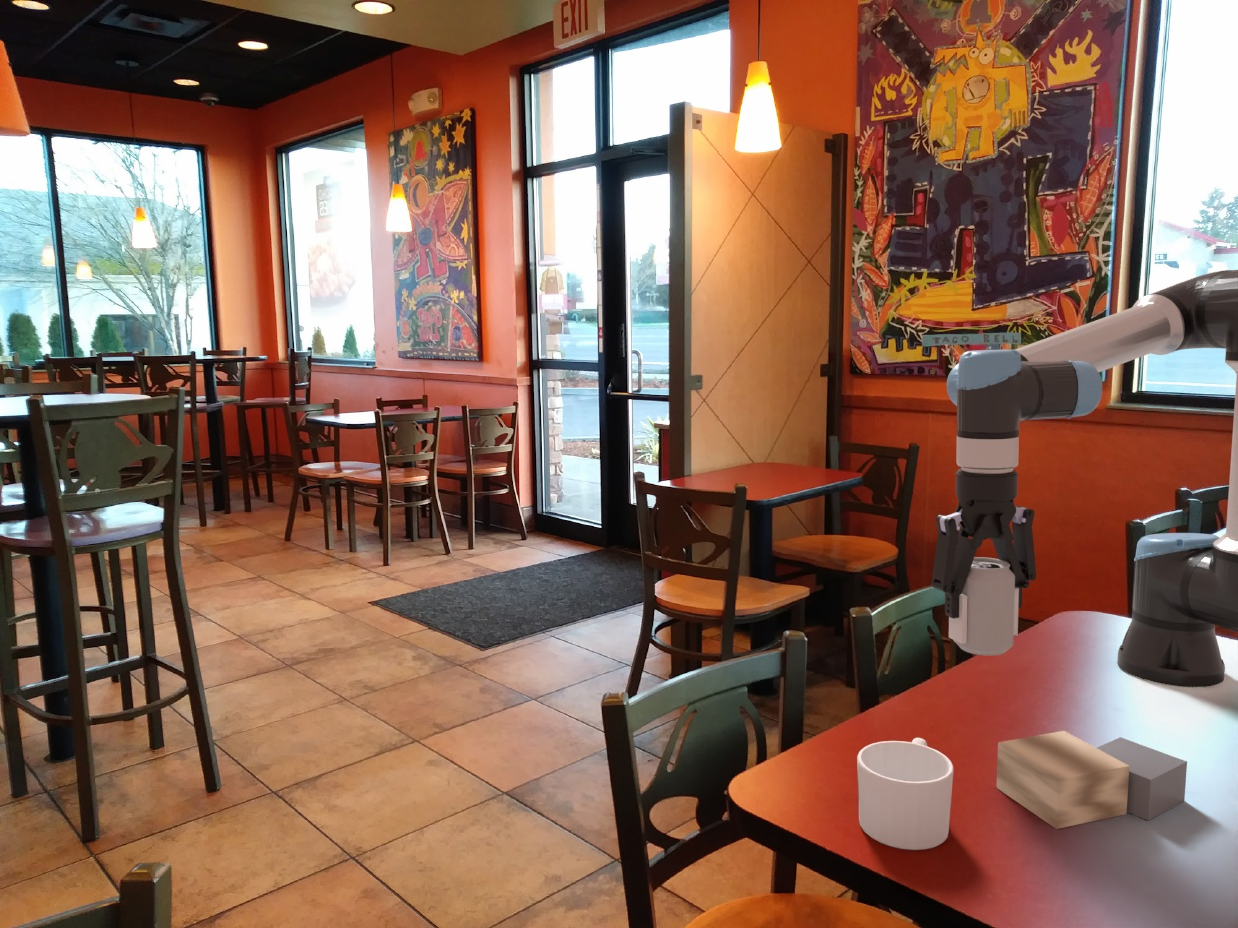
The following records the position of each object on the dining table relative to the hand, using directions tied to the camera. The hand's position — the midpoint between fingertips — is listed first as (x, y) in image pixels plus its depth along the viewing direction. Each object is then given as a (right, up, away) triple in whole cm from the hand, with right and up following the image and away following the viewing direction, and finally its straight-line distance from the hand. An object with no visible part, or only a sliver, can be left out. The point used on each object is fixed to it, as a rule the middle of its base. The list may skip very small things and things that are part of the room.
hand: (983, 635), depth 120 cm
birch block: (+4, -18, -12) cm, 22 cm away
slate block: (+14, -17, -11) cm, 25 cm away
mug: (-15, -19, -16) cm, 29 cm away
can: (0, -2, 0) cm, 2 cm away
